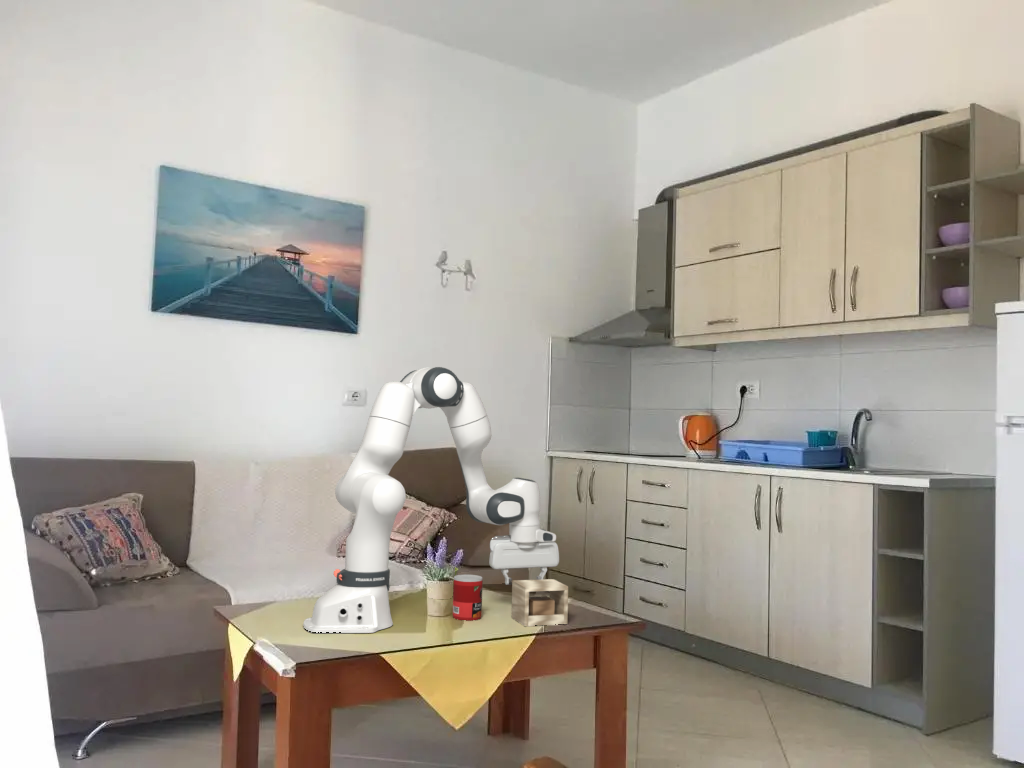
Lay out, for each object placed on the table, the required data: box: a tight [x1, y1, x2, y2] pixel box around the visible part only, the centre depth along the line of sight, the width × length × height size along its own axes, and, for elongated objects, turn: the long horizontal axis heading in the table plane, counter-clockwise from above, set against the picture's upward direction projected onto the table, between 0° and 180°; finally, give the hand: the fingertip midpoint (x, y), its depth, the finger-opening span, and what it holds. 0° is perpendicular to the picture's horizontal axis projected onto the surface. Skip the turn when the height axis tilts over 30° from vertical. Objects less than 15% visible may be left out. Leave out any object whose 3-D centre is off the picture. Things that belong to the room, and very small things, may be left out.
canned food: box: [452, 574, 483, 622], centre depth 231 cm, size 8×8×11 cm
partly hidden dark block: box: [528, 591, 555, 616], centre depth 235 cm, size 6×20×6 cm, turn 18°
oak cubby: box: [511, 578, 569, 627], centre depth 230 cm, size 12×11×10 cm
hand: (524, 583), depth 243 cm, fingers open, 8 cm apart
